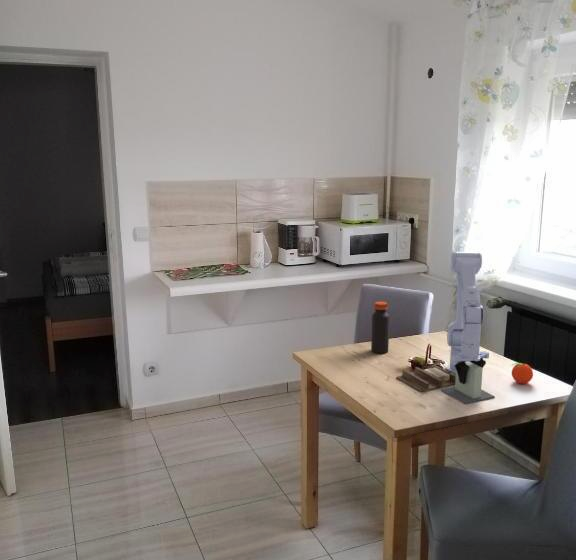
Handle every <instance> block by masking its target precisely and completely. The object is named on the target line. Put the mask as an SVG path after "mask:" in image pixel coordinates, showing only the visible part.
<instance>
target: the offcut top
mask: <svg viewBox="0 0 576 560" xmlns="http://www.w3.org/2000/svg"><path fill="white" fill-rule="evenodd" d="M423 370H424V371H426V372H428V373H429V374H431V375H433V376H435V377H437V378H439V379H445V378H450V375H449V374H447V373H445V372H443V371H441V370H439V369H437V368H431V367H429V368H426V369H425V368H424V369H423Z"/></svg>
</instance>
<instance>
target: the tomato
mask: <svg viewBox="0 0 576 560" xmlns="http://www.w3.org/2000/svg"><path fill="white" fill-rule="evenodd" d="M512 366H513V368H512V369H511V376H512V379H513V380H514V381H515V382H516V383H518V384H528V383H529V382H531V380H532V379H533V377H534V371H533V369H532V367H531V366H530V365H529V364H527V363H523V362H515V363H513V364H510V366H509V368H510V367H512ZM509 368H508V369H509Z"/></svg>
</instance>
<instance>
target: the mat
mask: <svg viewBox="0 0 576 560" xmlns="http://www.w3.org/2000/svg"><path fill="white" fill-rule="evenodd" d="M440 389H441V390H440V391H441V392H443V393H444V394H446V395H448V396H450V397H452V398H454V399H455V400H457V401H459V402H460V403H462V404H464V405H469V404H473V403H478V402H481V401H486V400H491V399H495V398H496V397H495V395H494V394H491V393H490V392H488V391H485V390H483V389H482V388H481V397H478V398H474V399H473V398H471V397H470V396H468V395H466V394H464V393H462V392H460V391H458V390H457V389H455V386H449V387H445V388H440Z"/></svg>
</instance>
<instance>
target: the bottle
mask: <svg viewBox="0 0 576 560" xmlns="http://www.w3.org/2000/svg"><path fill="white" fill-rule="evenodd" d="M374 310H375V311H374V312H373V314H371V339H370V340H371V344H370V345H371V346H370V351H371V352H372V353H374V354H378V355H380V354H381V355H382V354H383V355H384V354H387V353H388V352H389V346H390V345H389V343H390V342H389V341H390V339H389V338H390V315H389V313H388V312H387V310H388V303H387V302H386V301H375V302H374Z"/></svg>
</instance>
